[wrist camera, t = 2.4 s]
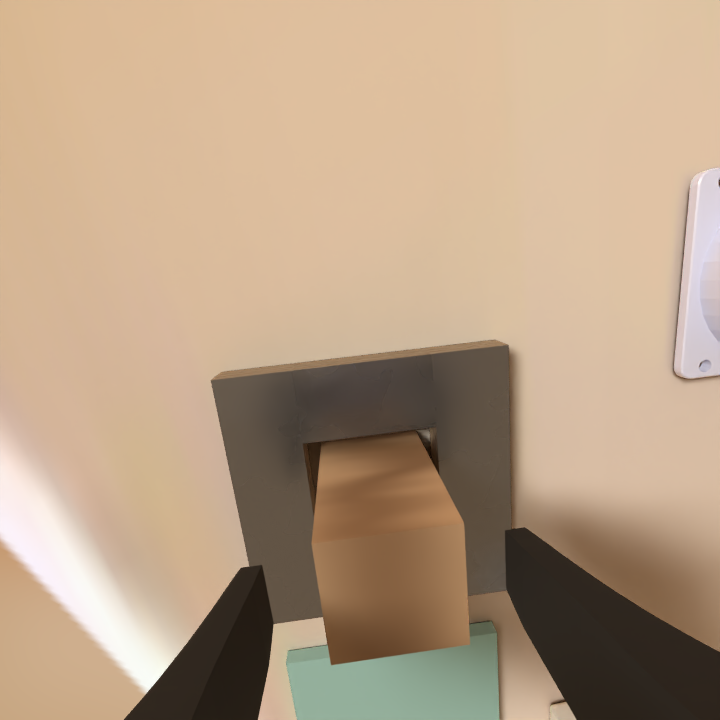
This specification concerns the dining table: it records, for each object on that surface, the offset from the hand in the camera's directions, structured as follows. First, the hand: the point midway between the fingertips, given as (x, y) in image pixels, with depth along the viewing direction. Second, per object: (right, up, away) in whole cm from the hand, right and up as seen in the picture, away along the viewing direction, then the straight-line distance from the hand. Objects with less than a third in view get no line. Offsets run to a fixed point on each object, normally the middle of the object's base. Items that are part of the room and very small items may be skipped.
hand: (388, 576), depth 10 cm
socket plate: (0, +1, +5) cm, 5 cm away
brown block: (0, +1, +5) cm, 5 cm away
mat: (+1, -10, +8) cm, 13 cm away
